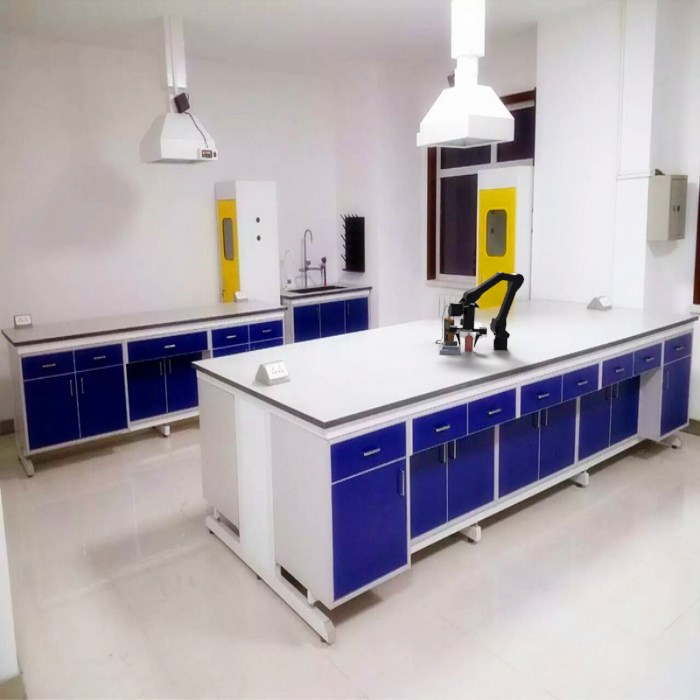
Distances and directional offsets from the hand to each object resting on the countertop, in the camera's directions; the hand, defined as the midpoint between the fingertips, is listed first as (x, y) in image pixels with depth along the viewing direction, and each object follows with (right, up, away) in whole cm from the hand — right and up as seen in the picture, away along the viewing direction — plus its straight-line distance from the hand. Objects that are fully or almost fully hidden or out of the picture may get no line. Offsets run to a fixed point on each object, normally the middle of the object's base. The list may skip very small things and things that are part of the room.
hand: (467, 346), depth 320 cm
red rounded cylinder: (+1, -2, 0) cm, 2 cm away
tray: (-9, -3, -3) cm, 10 cm away
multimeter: (-10, +2, +17) cm, 20 cm away
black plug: (-7, 0, +6) cm, 9 cm away
